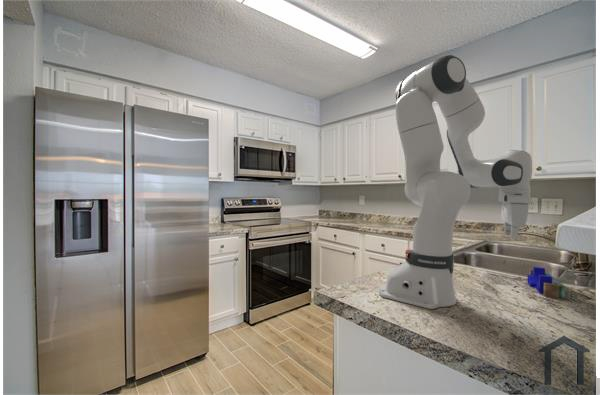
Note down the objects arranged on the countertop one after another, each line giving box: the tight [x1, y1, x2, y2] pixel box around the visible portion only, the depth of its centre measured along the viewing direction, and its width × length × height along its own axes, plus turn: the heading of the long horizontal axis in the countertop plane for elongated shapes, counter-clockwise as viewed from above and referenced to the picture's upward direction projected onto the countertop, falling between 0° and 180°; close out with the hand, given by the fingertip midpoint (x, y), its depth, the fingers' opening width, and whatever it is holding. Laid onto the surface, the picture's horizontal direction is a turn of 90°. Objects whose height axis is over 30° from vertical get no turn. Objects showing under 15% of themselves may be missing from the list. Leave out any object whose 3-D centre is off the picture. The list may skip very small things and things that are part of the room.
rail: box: [528, 268, 566, 300], centre depth 97 cm, size 5×18×4 cm, turn 154°
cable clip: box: [526, 266, 553, 295], centre depth 97 cm, size 12×4×6 cm, turn 149°
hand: (510, 236), depth 101 cm, fingers open, 8 cm apart
